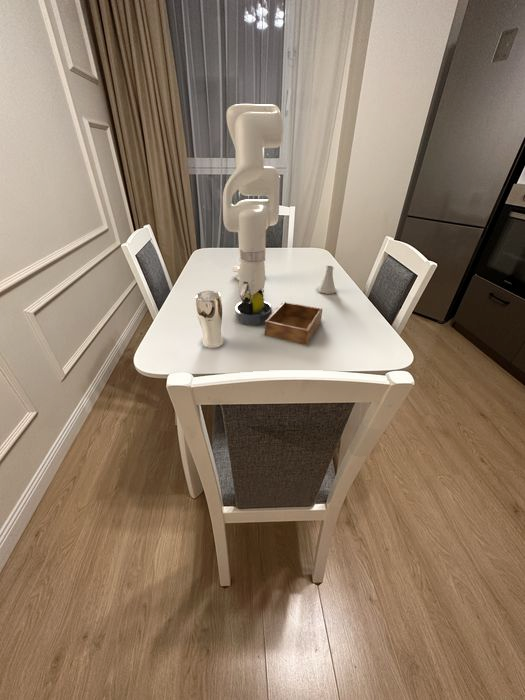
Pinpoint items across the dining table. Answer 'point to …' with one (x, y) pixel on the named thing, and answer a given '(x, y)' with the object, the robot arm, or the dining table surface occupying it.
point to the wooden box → (293, 322)
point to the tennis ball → (257, 302)
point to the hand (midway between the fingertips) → (253, 308)
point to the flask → (327, 282)
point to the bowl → (253, 315)
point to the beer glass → (210, 317)
